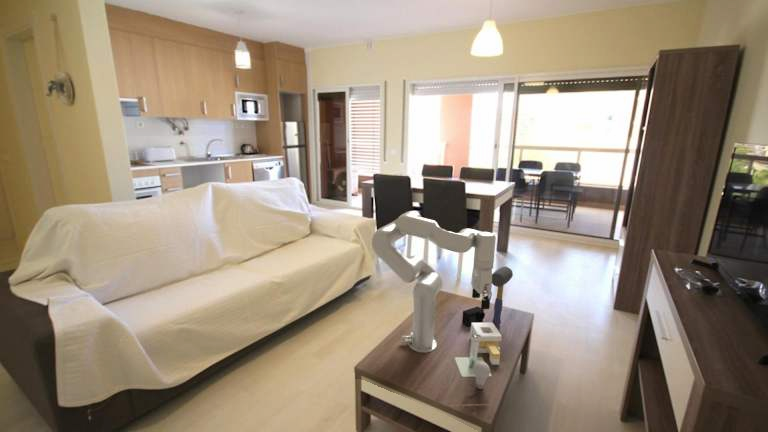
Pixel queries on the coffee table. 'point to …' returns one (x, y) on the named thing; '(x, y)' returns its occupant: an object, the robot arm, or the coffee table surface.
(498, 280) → the rubber mallet
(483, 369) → the lightbulb
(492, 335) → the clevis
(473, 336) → the steel pin
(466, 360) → the pin mat
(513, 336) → the coffee table surface
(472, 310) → the digital camera
